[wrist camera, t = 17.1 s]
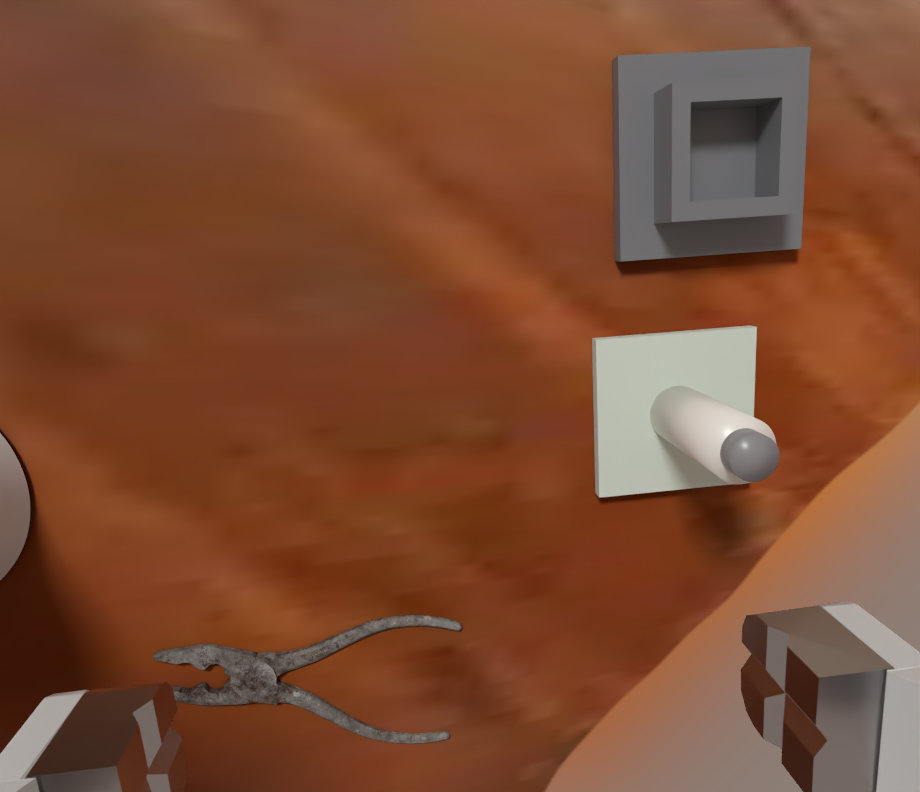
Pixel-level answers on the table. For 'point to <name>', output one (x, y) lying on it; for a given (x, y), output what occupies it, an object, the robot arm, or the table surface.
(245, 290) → the table surface
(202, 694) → the pliers
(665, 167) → the socket block
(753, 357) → the sage mat
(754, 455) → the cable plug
